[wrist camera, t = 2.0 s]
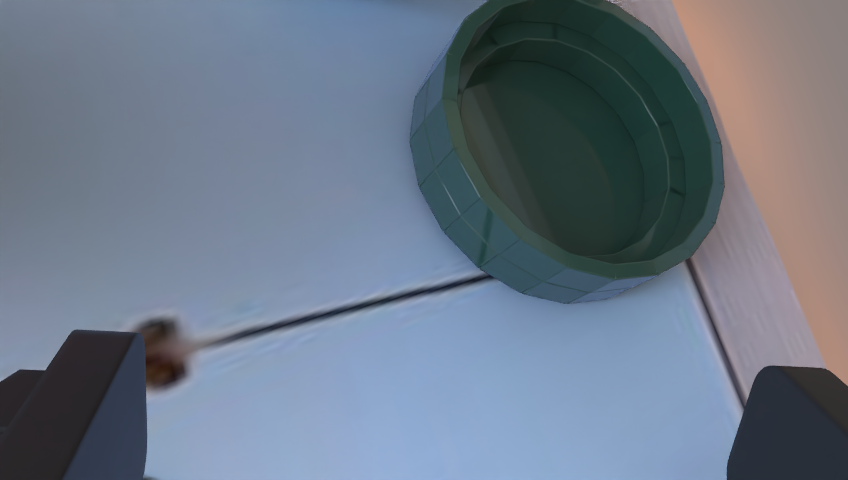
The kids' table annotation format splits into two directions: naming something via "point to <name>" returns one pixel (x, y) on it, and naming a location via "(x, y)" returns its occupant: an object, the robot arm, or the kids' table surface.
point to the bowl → (566, 148)
